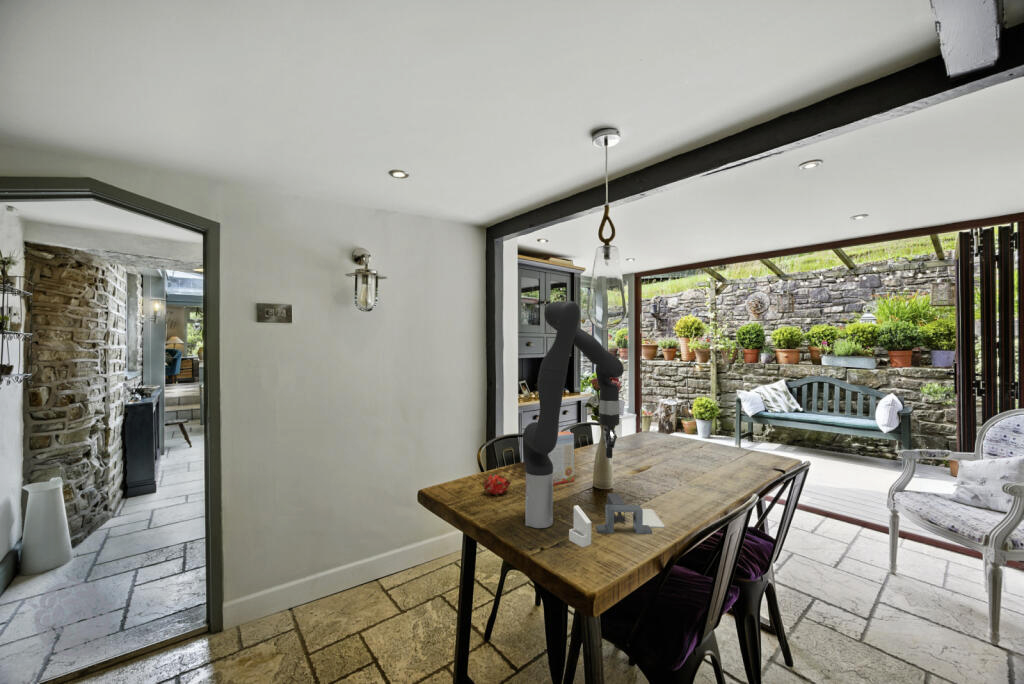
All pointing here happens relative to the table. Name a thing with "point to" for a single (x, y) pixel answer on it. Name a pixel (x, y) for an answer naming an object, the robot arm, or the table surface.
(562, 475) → the cracker box
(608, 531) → the grey arch bracket
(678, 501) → the table surface
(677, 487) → the table surface
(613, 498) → the plug
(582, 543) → the white wedge bracket
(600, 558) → the table surface
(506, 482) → the dragon fruit
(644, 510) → the pad
